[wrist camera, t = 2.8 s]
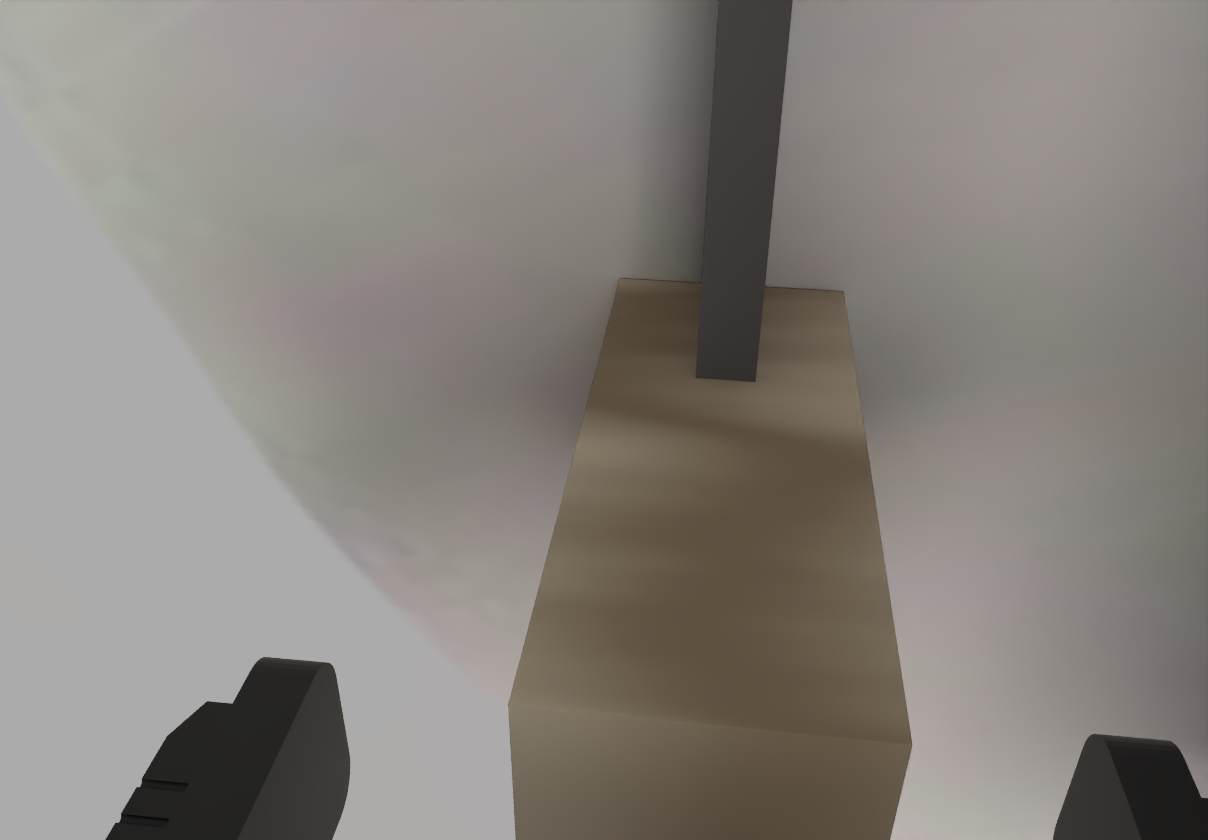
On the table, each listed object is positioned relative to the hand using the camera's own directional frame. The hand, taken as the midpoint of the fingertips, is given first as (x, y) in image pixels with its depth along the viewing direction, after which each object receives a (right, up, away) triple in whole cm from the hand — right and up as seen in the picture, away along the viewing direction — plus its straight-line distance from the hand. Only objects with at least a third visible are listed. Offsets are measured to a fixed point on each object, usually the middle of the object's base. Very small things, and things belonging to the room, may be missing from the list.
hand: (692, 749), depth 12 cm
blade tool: (+1, +9, +3) cm, 10 cm away
